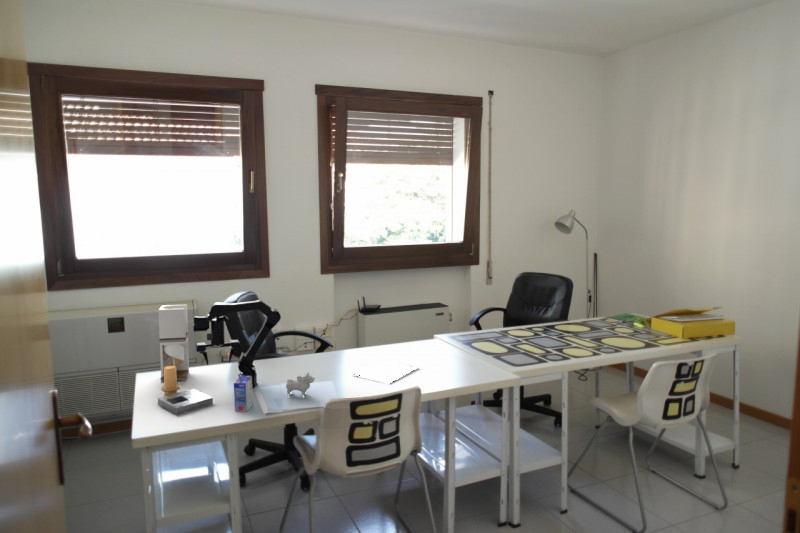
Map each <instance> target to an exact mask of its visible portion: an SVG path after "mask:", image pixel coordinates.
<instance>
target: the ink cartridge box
mask: <svg viewBox="0 0 800 533" xmlns="http://www.w3.org/2000/svg"><path fill="white" fill-rule="evenodd" d="M237 376H238V378H237V379H236V380H235V381H234V382H233V396H234V397H233V398H234V399H233V401H234V412H248V411H249V409H250V407H251V406H252V404H253V401H254V400H253V399H254V397H253V395H254V394H253V389H252V376H243V375H242V372H240V373H239V374H238V375H237Z"/></svg>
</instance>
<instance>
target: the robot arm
mask: <svg viewBox="0 0 800 533" xmlns="http://www.w3.org/2000/svg"><path fill="white" fill-rule="evenodd" d="M255 310H258V311H260V312H261V313H263V315H264V316H265V318H264V321H263V324H262V327H260V330H258V333H257V335H256V336H255V338H254V340H253V341H252V343H251V345H250V347H249V348H248V349H247V351H246V352H243V351H242V352H241V353H240V356H239V357H238V359H237V368H238V371H239V372H240V373H241V374H242V375H243V376H252V390H254V389H255V388H256V387H257V386H258V385H259V383H257V381H258V378H257V377H258V375H257V371H256V370H257V369H256V366H255V365H254V360H255V357H256V356H257V353H258V352H259V351H260V348H261V347H262V345H263V343H264V342H265V340H266V338H267V337H268V335H269V333H270V331H271V330H272V329H274V327H275V326H276V325H277V324H278V323H279V322H280V321H281V318H282V317H281V313H280V312H279V310H278V309H277V308H272V307H270V305H268V304H266V302H264V301H263V300H262V299H258V300H250V301H243V302H242V301H241V302H233V303H230V302H229V303H228V302H217V301H216V302H213V303H212V304H211V306H210V311H209V312H208V313H207V315H206V316H196V315H195V316H193V326H192V327H193V332H194V333H196V332H197V333H198V332H207V331H208V330H209V329H210V333H209V332H208V333H206V341H210V343H206V342H205V341H204V342H197V343H195V350H196V352H197V353H199V354H202V356H203V358H204V360H205V363H206V365H207V366H209V359H208V358H209V357H208V352H207V349H215V348H228V359H227V360H228V361H227V362H228V364H230V363H231V360H232V357H233V355H234V353H235V352H236V351H238V349H240V348H241V342H240V341H239V339H231V340H229V342H225V340H226V339H225V335H226V334H225V322H228V321H229V317H227V315H229V314H232V313H241V312H248V311H249V312H250V311H255Z"/></svg>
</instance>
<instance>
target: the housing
mask: <svg viewBox="0 0 800 533" xmlns="http://www.w3.org/2000/svg"><path fill="white" fill-rule="evenodd" d="M213 400H214V398H213V397H212V396H211V395H208V394H206V393H204V392H202V391H199V390H198V389H196V388H190V389H186V390H183V391H177V393H175V394H171V395H167V396H165V395H164V396H160V397H157V405H158V406H159V407H161V408H162V409H165V411H168V412H170V413H172V414H173V415H174V416H179V415H182V414H185V413H189V412H192V411H195V410H199V409H202V408H206V407H209V406H212V405H214V401H213Z"/></svg>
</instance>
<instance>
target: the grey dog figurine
mask: <svg viewBox="0 0 800 533" xmlns="http://www.w3.org/2000/svg"><path fill="white" fill-rule="evenodd" d="M315 380H316V377H313V376H312V375H310V372H306V374H304V375H302V376H301V375H298V376H296V380H294V379H290V378H289V379H287V381H286V385H285V387H286V392H287V395H288V394H290V392H291V391H292V392H293V391H297V392H298V391H299V392H301V396H302V395H305V392H306V393H307V390H309V389H310V387H311V384H312V383H313V384H314V381H315ZM290 395H291V394H290ZM305 396H306V395H305Z"/></svg>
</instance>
